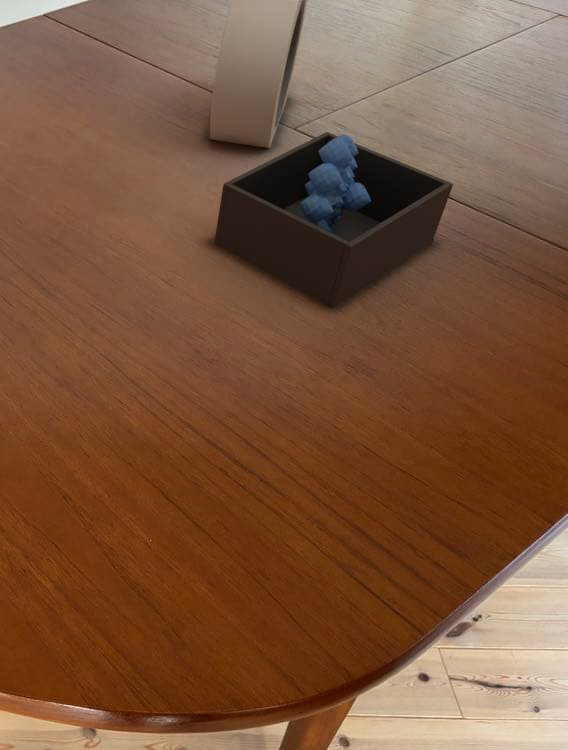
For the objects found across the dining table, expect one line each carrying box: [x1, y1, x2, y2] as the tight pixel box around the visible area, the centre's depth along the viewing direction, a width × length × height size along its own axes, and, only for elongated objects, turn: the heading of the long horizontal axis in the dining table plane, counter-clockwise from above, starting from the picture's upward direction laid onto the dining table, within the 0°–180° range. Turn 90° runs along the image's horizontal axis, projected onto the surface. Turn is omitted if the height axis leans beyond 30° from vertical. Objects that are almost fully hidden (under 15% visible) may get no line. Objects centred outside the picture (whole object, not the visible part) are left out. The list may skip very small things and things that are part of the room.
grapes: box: [300, 133, 371, 234], centre depth 87 cm, size 12×7×12 cm, turn 150°
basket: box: [214, 131, 454, 309], centre depth 89 cm, size 15×17×8 cm
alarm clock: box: [209, 0, 308, 149], centre depth 106 cm, size 21×8×20 cm, turn 160°
